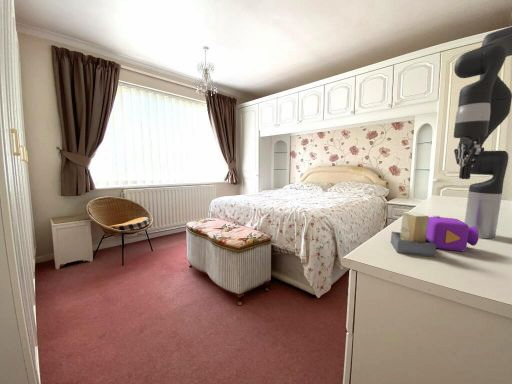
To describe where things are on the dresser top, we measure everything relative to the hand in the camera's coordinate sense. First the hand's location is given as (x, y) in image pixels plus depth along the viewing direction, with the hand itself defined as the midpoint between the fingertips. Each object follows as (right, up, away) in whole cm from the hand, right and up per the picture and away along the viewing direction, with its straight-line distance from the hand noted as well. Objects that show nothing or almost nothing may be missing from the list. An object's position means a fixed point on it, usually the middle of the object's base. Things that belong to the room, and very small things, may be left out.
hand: (464, 178), depth 71 cm
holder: (-14, -23, +5) cm, 27 cm away
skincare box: (-14, -23, +4) cm, 27 cm away
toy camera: (+2, -23, +7) cm, 24 cm away
